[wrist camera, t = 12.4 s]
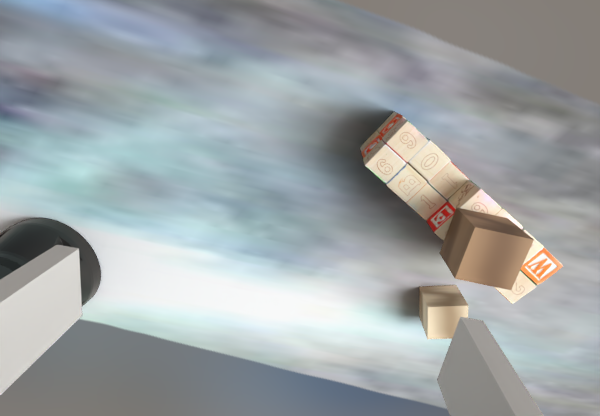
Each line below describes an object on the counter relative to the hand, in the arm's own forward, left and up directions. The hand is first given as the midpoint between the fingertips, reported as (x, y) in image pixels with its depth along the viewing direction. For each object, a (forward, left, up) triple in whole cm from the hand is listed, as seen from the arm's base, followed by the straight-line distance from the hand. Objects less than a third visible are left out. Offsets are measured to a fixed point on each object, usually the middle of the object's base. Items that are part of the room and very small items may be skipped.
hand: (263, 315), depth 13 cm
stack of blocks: (+16, -3, -37) cm, 40 cm away
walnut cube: (+17, -5, -24) cm, 30 cm away
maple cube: (+21, -19, -36) cm, 46 cm away
